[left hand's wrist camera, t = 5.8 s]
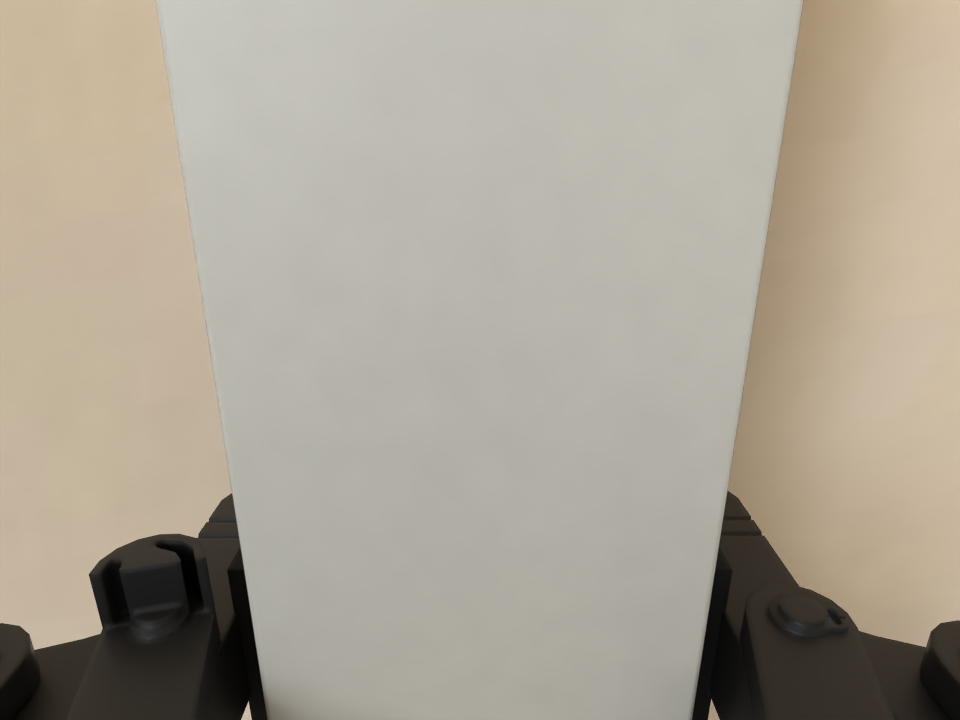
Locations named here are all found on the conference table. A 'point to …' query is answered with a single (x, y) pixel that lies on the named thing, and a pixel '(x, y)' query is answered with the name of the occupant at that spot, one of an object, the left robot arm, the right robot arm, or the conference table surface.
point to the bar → (479, 334)
